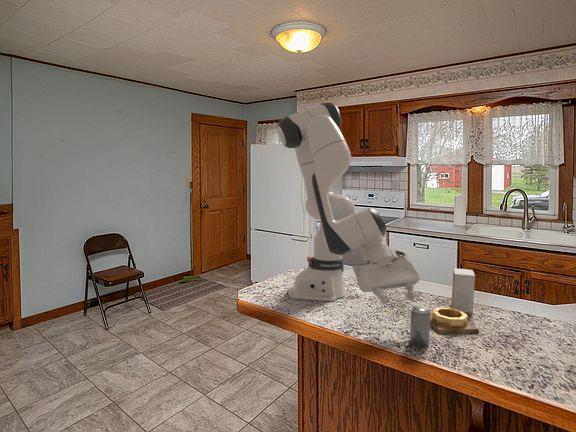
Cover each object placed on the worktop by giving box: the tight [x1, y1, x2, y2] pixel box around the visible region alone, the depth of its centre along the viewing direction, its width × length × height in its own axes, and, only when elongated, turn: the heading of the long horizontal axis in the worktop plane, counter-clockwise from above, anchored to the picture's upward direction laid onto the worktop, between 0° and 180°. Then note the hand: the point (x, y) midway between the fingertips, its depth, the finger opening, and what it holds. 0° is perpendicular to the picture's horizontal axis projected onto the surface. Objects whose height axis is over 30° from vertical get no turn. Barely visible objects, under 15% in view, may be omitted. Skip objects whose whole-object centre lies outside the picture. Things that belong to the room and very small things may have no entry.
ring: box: [431, 307, 468, 327], centre depth 111 cm, size 9×9×2 cm
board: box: [430, 313, 480, 334], centre depth 112 cm, size 12×12×1 cm
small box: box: [451, 267, 476, 314], centre depth 125 cm, size 8×6×13 cm
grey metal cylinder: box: [409, 305, 432, 348], centre depth 99 cm, size 5×5×10 cm
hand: (399, 300), depth 103 cm, fingers open, 8 cm apart
